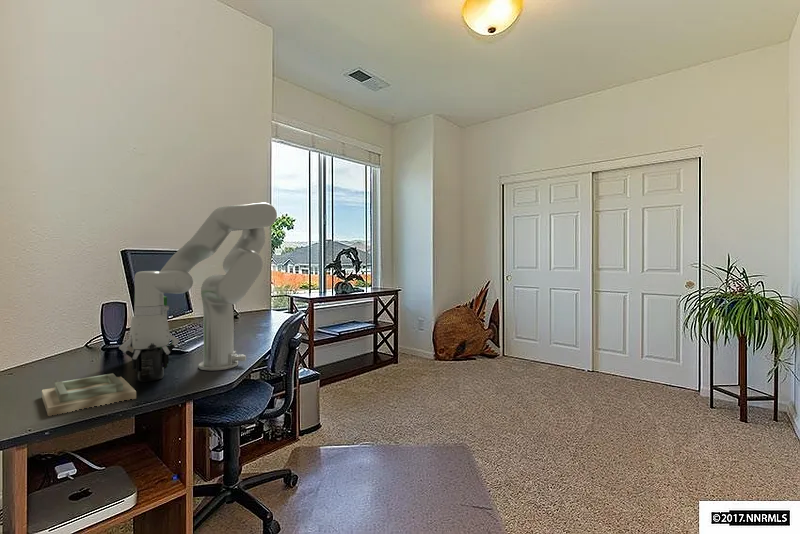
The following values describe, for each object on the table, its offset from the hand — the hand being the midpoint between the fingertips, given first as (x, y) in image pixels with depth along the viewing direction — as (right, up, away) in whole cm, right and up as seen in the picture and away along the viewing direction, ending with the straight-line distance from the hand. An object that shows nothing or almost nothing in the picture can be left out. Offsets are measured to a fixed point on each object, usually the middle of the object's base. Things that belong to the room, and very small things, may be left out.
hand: (150, 368), depth 128 cm
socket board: (-6, -4, -17) cm, 18 cm away
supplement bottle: (0, -4, 0) cm, 4 cm away
